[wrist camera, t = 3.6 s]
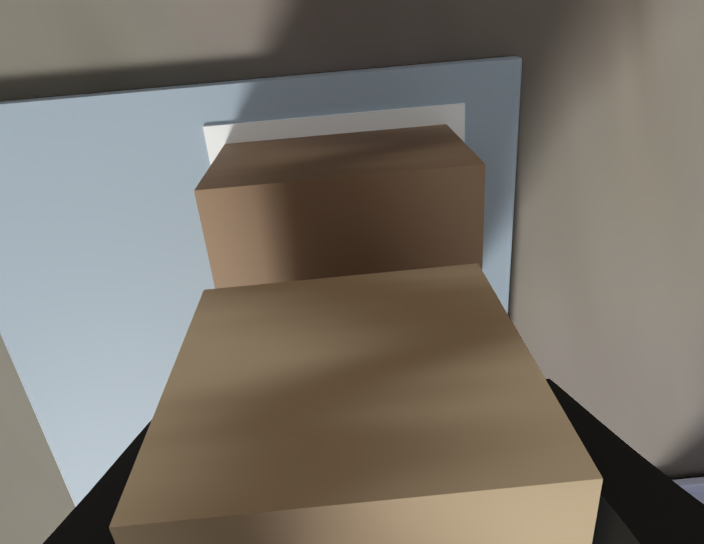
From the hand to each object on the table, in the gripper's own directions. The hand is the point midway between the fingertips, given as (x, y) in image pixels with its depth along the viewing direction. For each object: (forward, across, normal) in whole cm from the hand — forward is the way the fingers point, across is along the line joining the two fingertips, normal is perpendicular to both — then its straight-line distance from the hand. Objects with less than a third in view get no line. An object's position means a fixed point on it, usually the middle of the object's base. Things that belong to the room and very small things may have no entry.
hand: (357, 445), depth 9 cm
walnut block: (+8, 0, 0) cm, 8 cm away
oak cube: (+2, 0, 0) cm, 2 cm away
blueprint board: (+9, +3, +3) cm, 10 cm away
